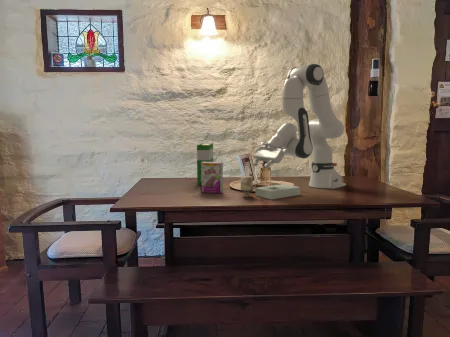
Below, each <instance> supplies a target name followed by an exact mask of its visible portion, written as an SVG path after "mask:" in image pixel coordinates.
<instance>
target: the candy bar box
mask: <svg viewBox="0 0 450 337" xmlns="http://www.w3.org/2000/svg"><path fill="white" fill-rule="evenodd" d="M223 170H224V163H223V162H222V161H221V162H220V161H218V162H217V161H213V162H201V185H200V193H205V194H222V193H223V190H224V189H223V186H224V185H223V184H224V180H223V177H224V175H223V174H224V171H223Z"/></svg>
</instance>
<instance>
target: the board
mask: <svg viewBox="0 0 450 337" xmlns="http://www.w3.org/2000/svg"><path fill="white" fill-rule="evenodd" d="M300 195H301V187H300V186H296V185H290V184H286V183H281V184H280V183H279V184H275V185H274V184H273V185H267V186H260V187H255V196H257V197H260V198H264V199H268V200H276V199H282V198H287V197H288V198H289V197H293V196H294V197H295V196H300Z"/></svg>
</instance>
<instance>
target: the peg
mask: <svg viewBox="0 0 450 337" xmlns="http://www.w3.org/2000/svg"><path fill="white" fill-rule="evenodd" d="M253 178H254V177H253V176H249V175H248V176H247V175H244V176H240V192H243V197H244V198H249V197H251V196H250V192H253V188H254V186H253V185H254V183H253V182H254V180H253Z"/></svg>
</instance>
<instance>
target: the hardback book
mask: <svg viewBox="0 0 450 337" xmlns="http://www.w3.org/2000/svg"><path fill="white" fill-rule="evenodd" d="M201 162H214V143H213V142H211V143H210V144H208V143H203V142H200V143H199V144H196V172H197V174H196V175H197V176H196V178H197V179H196V180H197V181H196V183H197V184H196V185H197V186H201Z"/></svg>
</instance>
